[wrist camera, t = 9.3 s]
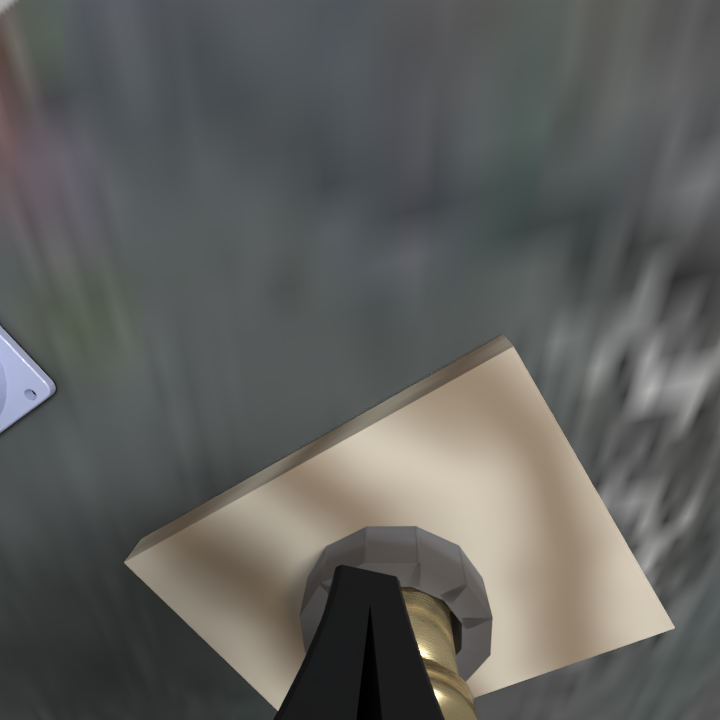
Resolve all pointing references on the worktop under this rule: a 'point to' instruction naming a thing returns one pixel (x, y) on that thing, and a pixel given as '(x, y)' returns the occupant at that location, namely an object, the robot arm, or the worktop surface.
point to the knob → (439, 653)
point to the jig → (415, 535)
